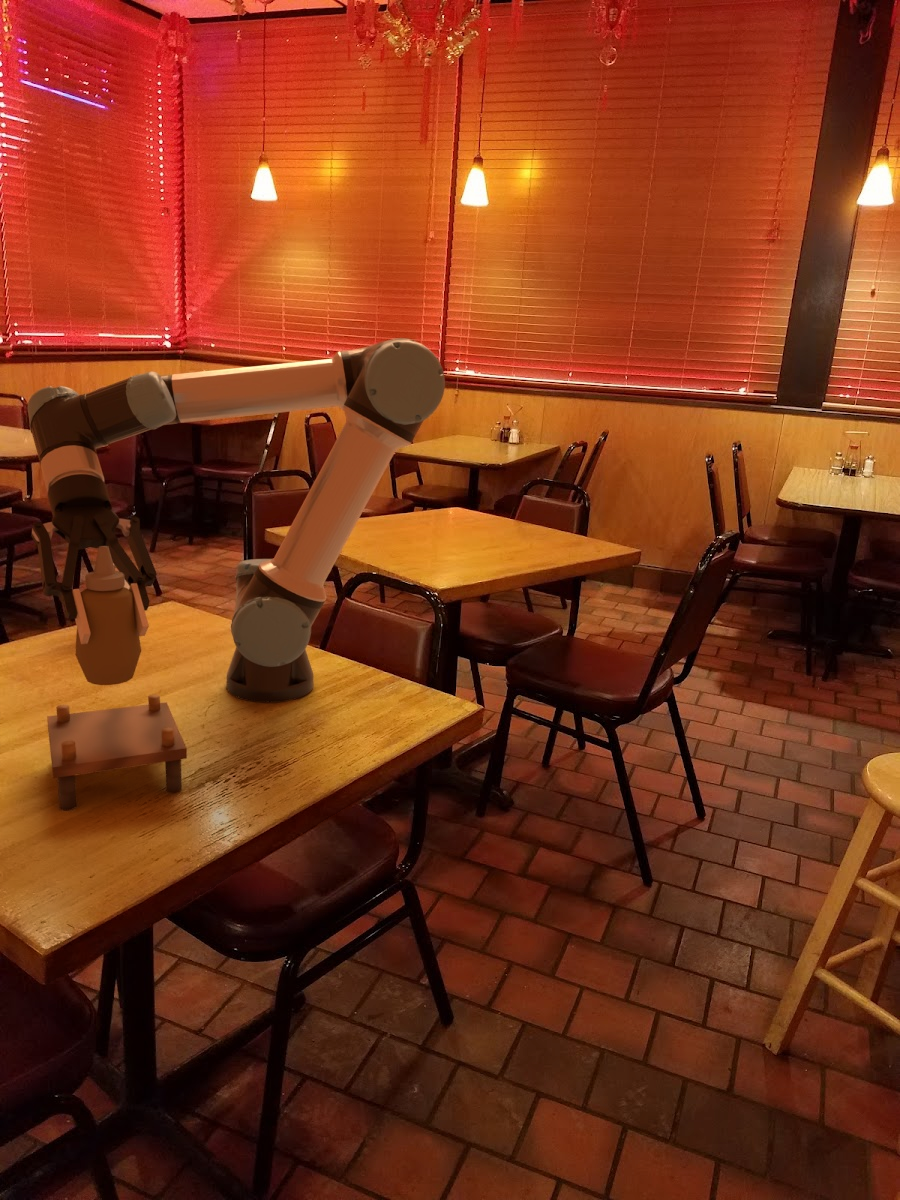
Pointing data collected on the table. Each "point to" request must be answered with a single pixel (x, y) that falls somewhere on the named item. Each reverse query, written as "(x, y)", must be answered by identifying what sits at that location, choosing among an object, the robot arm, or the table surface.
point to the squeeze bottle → (108, 625)
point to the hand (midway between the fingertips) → (115, 634)
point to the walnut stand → (113, 744)
